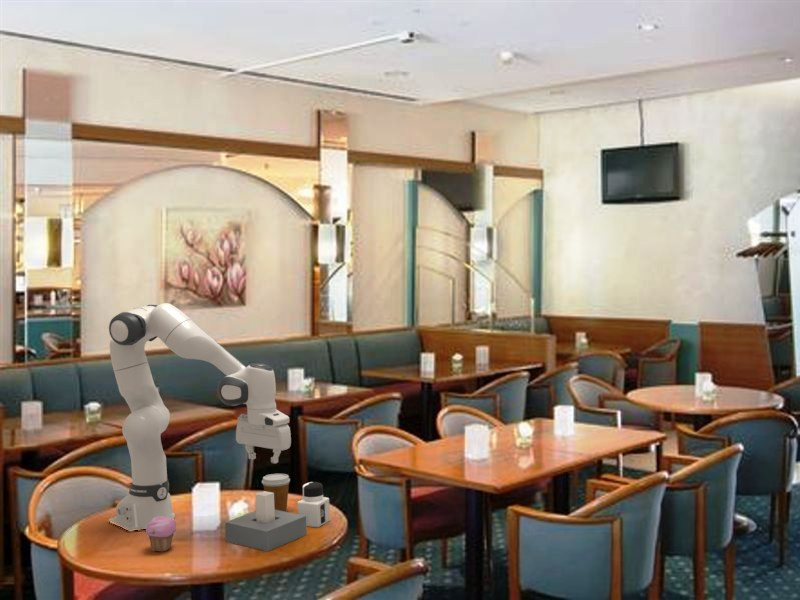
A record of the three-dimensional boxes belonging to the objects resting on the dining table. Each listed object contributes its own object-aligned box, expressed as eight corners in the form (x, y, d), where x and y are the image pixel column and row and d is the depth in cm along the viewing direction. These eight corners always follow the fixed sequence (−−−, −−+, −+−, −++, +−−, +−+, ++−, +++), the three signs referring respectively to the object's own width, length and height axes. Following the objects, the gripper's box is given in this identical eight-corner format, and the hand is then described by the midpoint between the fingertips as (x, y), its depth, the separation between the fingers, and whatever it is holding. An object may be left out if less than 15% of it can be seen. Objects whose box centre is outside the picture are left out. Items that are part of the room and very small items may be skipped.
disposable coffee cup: (270, 506, 313) (269, 472, 312) (295, 508, 310) (294, 474, 309) (258, 514, 304) (256, 479, 303) (283, 516, 301) (282, 481, 300)
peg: (257, 538, 280) (255, 494, 279) (266, 535, 283) (264, 491, 282) (266, 540, 277) (264, 496, 276) (275, 537, 281) (273, 492, 280)
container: (330, 520, 296) (328, 481, 295) (318, 527, 289) (317, 487, 288) (309, 518, 299) (308, 479, 298) (297, 525, 292) (296, 485, 291)
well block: (225, 541, 278) (225, 522, 278) (265, 525, 292) (264, 507, 292) (267, 551, 268) (266, 531, 267) (306, 534, 282) (305, 515, 282)
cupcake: (155, 544, 277) (153, 512, 276) (181, 545, 276) (180, 512, 275) (142, 554, 268) (140, 521, 268) (169, 555, 267) (168, 522, 266)
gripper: (230, 414, 281) (231, 458, 282) (279, 421, 269) (280, 467, 270) (245, 411, 286) (246, 454, 287) (293, 417, 274) (294, 462, 275)
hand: (263, 460), depth 278 cm, fingers open, 8 cm apart
